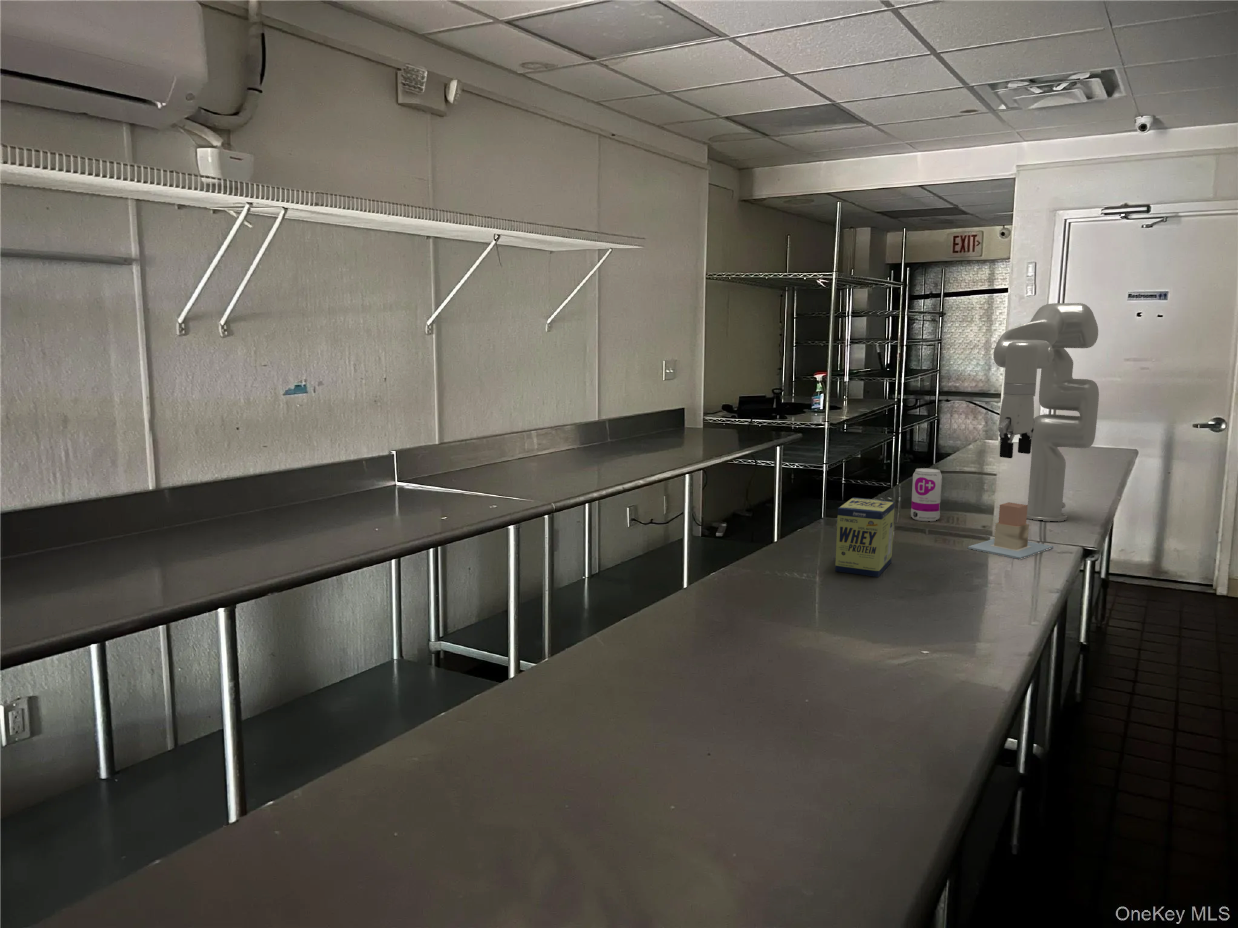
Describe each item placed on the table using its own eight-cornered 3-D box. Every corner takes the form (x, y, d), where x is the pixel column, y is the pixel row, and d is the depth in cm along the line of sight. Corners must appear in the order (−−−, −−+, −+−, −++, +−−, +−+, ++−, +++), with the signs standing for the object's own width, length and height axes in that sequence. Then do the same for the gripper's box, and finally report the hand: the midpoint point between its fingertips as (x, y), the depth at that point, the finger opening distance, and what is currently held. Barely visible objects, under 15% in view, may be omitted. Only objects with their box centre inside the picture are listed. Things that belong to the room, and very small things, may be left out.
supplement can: (934, 523, 262) (937, 473, 260) (906, 519, 267) (909, 470, 265) (943, 518, 269) (946, 469, 266) (915, 514, 273) (918, 467, 271)
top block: (1007, 520, 235) (1008, 502, 234) (1026, 523, 231) (1027, 505, 231) (998, 523, 232) (999, 504, 231) (1017, 526, 228) (1018, 507, 227)
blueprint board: (1001, 538, 244) (1001, 535, 243) (1053, 548, 233) (1053, 545, 233) (967, 548, 232) (967, 546, 232) (1020, 559, 222) (1020, 556, 221)
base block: (1005, 541, 237) (1006, 520, 236) (1027, 546, 232) (1029, 523, 231) (994, 545, 233) (995, 523, 232) (1016, 549, 228) (1018, 527, 227)
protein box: (834, 571, 210) (837, 507, 208) (849, 556, 224) (852, 496, 221) (879, 577, 205) (882, 512, 203) (892, 562, 219) (895, 500, 217)
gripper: (1021, 386, 236) (1016, 450, 240) (988, 391, 226) (984, 457, 229) (1049, 388, 231) (1044, 453, 234) (1017, 393, 220) (1013, 461, 223)
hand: (1015, 455), depth 231 cm, fingers open, 9 cm apart
